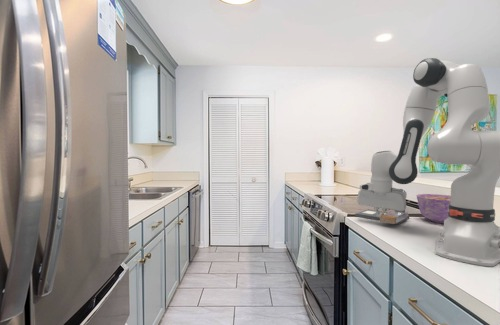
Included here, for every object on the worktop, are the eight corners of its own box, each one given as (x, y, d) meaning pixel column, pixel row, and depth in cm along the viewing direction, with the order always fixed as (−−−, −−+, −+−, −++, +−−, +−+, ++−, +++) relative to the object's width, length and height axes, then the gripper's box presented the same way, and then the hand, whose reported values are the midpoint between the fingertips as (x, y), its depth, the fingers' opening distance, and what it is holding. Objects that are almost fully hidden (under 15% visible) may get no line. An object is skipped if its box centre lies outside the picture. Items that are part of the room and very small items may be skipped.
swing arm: (407, 216, 133) (408, 209, 133) (394, 224, 118) (394, 216, 118) (394, 214, 137) (394, 207, 137) (379, 221, 122) (380, 213, 122)
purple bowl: (437, 215, 144) (438, 193, 144) (478, 225, 125) (479, 199, 125) (405, 217, 139) (406, 194, 139) (443, 228, 120) (443, 201, 119)
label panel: (398, 223, 126) (398, 220, 126) (355, 216, 141) (355, 213, 141) (409, 218, 138) (409, 215, 138) (368, 212, 152) (368, 209, 152)
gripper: (409, 188, 121) (407, 220, 121) (362, 184, 135) (361, 212, 136) (404, 190, 116) (403, 223, 117) (356, 185, 131) (355, 214, 131)
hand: (380, 217), depth 126 cm, fingers closed
